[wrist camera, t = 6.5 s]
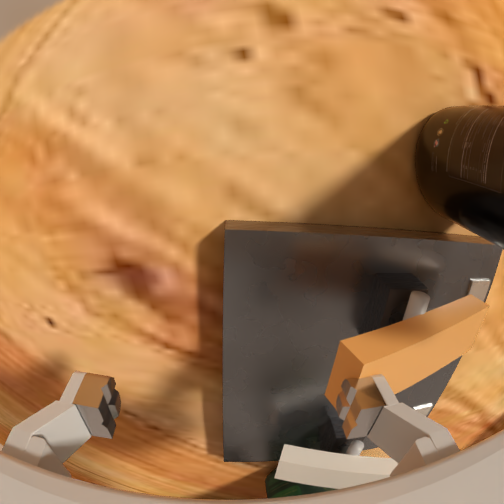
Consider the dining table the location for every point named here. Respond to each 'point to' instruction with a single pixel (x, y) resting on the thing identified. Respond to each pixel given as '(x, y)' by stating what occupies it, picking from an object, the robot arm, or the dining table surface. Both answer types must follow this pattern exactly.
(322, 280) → the panel
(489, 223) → the supplement bottle
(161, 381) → the dining table surface
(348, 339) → the paddle
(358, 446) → the paddle
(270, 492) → the coffee jar
